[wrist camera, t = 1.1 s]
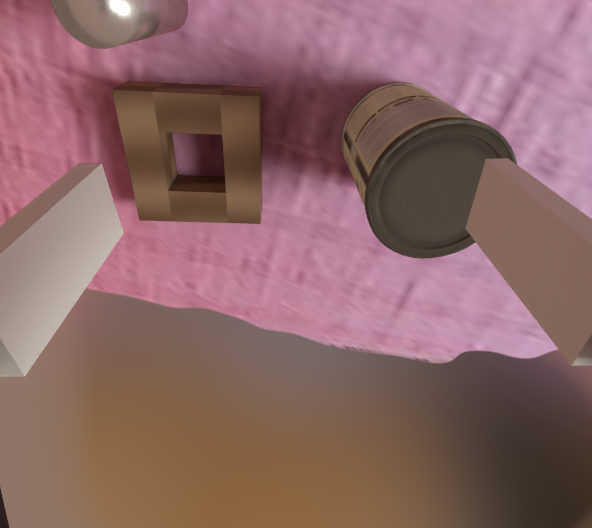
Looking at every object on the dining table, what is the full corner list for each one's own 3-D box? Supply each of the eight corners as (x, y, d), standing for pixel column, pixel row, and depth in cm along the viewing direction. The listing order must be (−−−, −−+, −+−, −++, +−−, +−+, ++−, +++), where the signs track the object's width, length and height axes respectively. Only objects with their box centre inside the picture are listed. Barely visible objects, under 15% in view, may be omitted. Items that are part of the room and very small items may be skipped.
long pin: (133, -29, 30) (37, -50, 18) (184, -26, 30) (122, -44, 18) (142, 30, 32) (63, 46, 20) (190, 33, 32) (138, 50, 21)
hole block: (128, 81, 34) (111, 90, 31) (261, 87, 35) (259, 96, 31) (151, 202, 41) (139, 220, 38) (262, 206, 41) (260, 223, 38)
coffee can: (466, 129, 37) (548, 186, 26) (389, 203, 42) (429, 281, 30) (396, 54, 33) (456, 82, 22) (319, 144, 38) (335, 207, 26)
